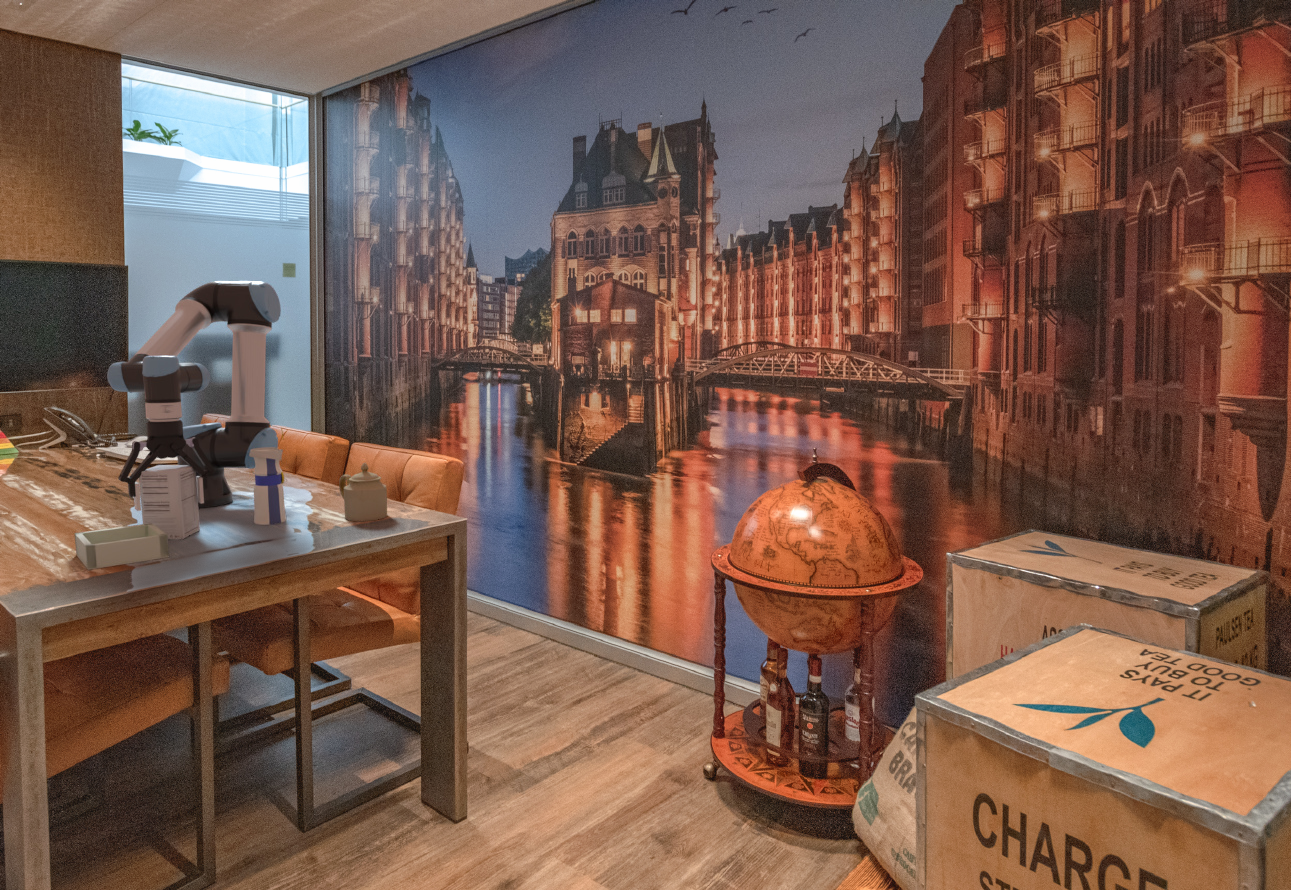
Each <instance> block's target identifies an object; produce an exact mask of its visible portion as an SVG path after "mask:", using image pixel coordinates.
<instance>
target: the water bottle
mask: <svg viewBox="0 0 1291 890" xmlns="http://www.w3.org/2000/svg"><path fill="white" fill-rule="evenodd" d="M280 430H281V437H282V439H284V433H283V432H284V431H283V427H281V428H280ZM283 452H284V451H283V448H282V449H279V448H278V447H277V448H275V447H265V448H255V449H251V450H250V454H249V456H250V457H254V460H255V468H254V470H253V472H252V474H253V475H254V481H255V482H254V483H255V484H254V486H253V487H254V488H253V503H254V504H253V506H254V507H253V508H254V512H253V513H254V514H253V515H254V517H253V519H254V520H253V522H254V524H256V525H260V526H263V525H276V524H281V523H285V522H287V516H286V514H287V513H286V508H285V493H284V487H283V484H284V482H285V474H284V472H283V470H282V467H281V466H280V461H281V462H283V461H282V456H283Z"/></svg>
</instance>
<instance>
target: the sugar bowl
mask: <svg viewBox="0 0 1291 890" xmlns="http://www.w3.org/2000/svg"><path fill="white" fill-rule="evenodd" d="M360 470H361V472H359V473H355V474H353V475H352V476H351V475H350V474H348V473H347V474H343V475H341V476H340V477H339V480H338V486H339V487H338V488H339V492H340V495H341V497H342V499H343V505H344V518H345V520H347V521H349V522H350V521H351V522H352V521H353V522H371V521H373V522H374V521H378V519H379V520H382V519H384V518H386V517H387V516H388V496H387V495H388V490H387V484H384V483H382V482H381V480H382V477H381V476H379V475H378V474H377V473H374V472H370V471H369V465H368V464H367V463H366V462H363V463H362V465H361V466H360ZM346 483H347V485H346Z"/></svg>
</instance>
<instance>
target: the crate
mask: <svg viewBox="0 0 1291 890" xmlns="http://www.w3.org/2000/svg"><path fill="white" fill-rule="evenodd" d="M74 544H75V552H76V553H75V554H76V556H77V558H78V559H79V560H80V562H81V563H82V564H83V565H84V566H85V568H86V569H87V570H95V569H102V568H108V567H113V566H121V565H127V564H133V563H141V562H145V561H152V560H158V559H159V560H161V559H165V558H170V553H169V552H170V550H169V539H168V536H167V534H165V533H164V532H163V531H161V530H160V529H159V528H158V527H156V526H155V525H154V524H152V523H149V524H143V523H142V524H135V525H127V526H120V527H113V528H104V529H103V528H102V529H95V530H89V531H82V532H81V531H80V532H74Z"/></svg>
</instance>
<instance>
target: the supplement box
mask: <svg viewBox="0 0 1291 890" xmlns="http://www.w3.org/2000/svg"><path fill="white" fill-rule="evenodd" d="M138 480H139V482H138V483H139V489H140V503H141V516H142V524H149V523H152V524H154V525H155V526H156V527H158V528H159V529H160V530H161V531H163V532H164V533H165V534H167V536H168V540H184V539H186V538H188V537H189V535H190V536H191V535H193V534H195V533H197V532H198V531H200V530H201V524H200V513H199V512H200V511H199V508H198V496H197V481H196V471H195V470H194V469H193V467H191V466H190V465H178V464H157V465H155V466H152V467H148V468H147V469H146V470H145V471H142V473H141V476H140V477H139V478H138Z"/></svg>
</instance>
